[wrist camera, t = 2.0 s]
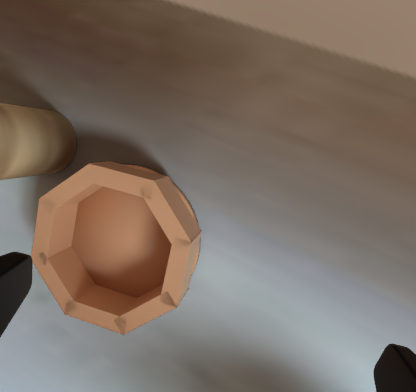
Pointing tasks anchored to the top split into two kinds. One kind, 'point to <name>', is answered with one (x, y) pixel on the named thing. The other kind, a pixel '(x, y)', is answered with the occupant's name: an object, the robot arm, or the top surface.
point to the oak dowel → (34, 141)
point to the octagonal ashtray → (116, 245)
